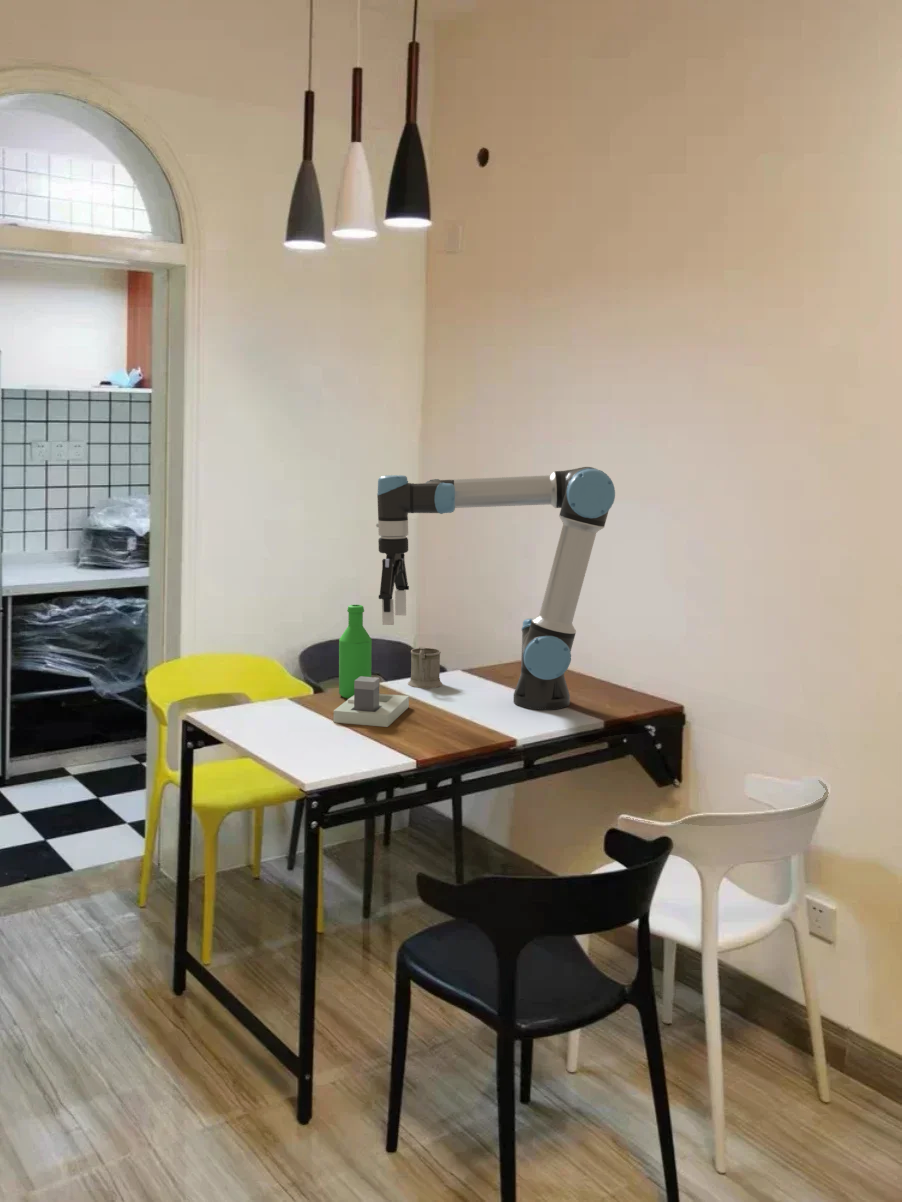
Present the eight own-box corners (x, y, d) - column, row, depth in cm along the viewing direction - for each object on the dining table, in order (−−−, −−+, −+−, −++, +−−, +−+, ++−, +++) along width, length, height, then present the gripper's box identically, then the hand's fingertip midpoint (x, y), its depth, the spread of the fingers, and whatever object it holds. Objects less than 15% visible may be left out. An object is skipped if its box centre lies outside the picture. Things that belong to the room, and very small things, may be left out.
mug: (411, 679, 329) (411, 638, 327) (444, 681, 327) (445, 640, 326) (402, 691, 315) (402, 648, 313) (437, 692, 313) (437, 650, 311)
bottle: (373, 692, 312) (374, 603, 308) (368, 700, 303) (369, 608, 299) (342, 691, 313) (342, 602, 309) (335, 699, 304) (336, 607, 300)
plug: (378, 716, 286) (379, 677, 285) (373, 721, 282) (373, 682, 280) (360, 714, 288) (360, 676, 286) (354, 719, 283) (354, 680, 281)
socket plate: (408, 707, 298) (408, 693, 297) (387, 726, 278) (387, 711, 278) (357, 702, 301) (357, 689, 300) (333, 722, 281) (333, 707, 281)
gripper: (390, 531, 298) (391, 611, 302) (365, 542, 274) (367, 628, 277) (418, 532, 297) (419, 611, 300) (396, 542, 273) (397, 629, 276)
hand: (394, 619), depth 289 cm, fingers open, 13 cm apart
